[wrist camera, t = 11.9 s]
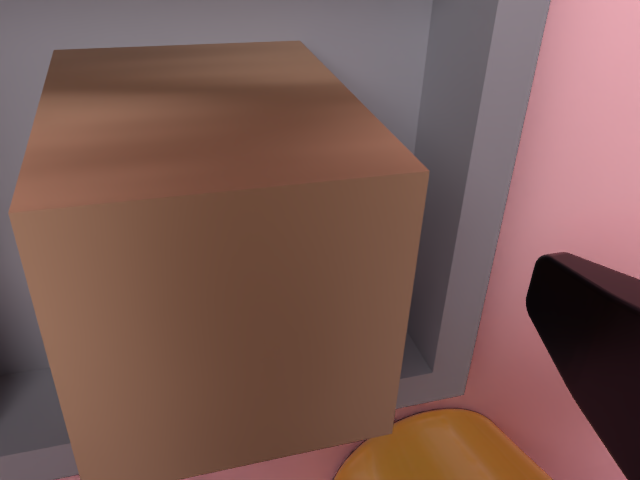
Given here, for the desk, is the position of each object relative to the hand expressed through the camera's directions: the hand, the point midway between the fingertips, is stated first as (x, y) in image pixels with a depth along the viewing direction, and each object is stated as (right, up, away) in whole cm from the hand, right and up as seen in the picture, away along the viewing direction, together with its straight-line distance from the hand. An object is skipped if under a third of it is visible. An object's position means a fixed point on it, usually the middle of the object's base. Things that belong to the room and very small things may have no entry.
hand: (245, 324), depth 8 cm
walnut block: (-2, +3, +4) cm, 5 cm away
